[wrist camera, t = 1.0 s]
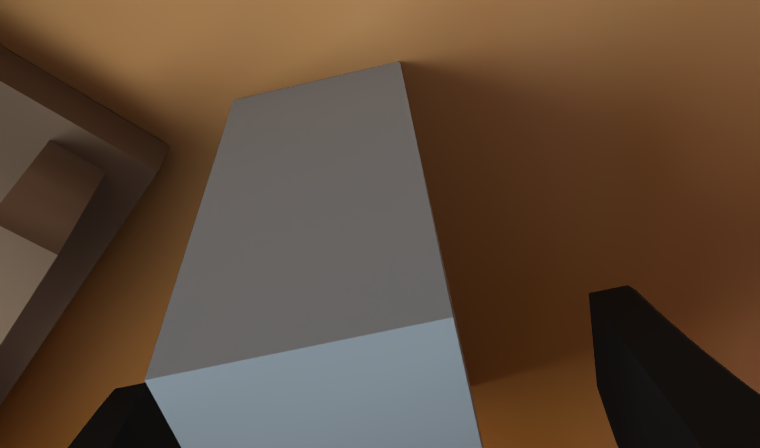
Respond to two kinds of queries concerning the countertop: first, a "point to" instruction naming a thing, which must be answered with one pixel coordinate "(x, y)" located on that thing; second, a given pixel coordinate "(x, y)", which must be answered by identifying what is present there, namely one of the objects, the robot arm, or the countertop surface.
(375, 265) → the grey block
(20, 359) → the rack
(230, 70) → the countertop surface
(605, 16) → the countertop surface
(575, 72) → the countertop surface
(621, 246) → the countertop surface
